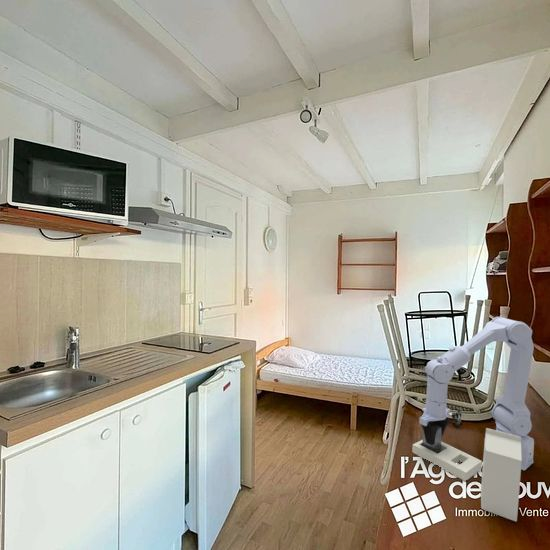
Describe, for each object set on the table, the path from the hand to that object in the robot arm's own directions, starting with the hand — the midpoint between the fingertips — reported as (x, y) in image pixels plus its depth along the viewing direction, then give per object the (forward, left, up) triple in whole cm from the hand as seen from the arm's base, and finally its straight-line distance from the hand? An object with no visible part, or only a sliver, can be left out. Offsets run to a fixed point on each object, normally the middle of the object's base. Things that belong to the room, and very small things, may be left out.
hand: (433, 441), depth 102 cm
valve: (+10, -25, -4) cm, 28 cm away
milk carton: (-21, +8, -4) cm, 23 cm away
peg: (0, 0, -3) cm, 3 cm away
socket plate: (-4, 0, -4) cm, 6 cm away
